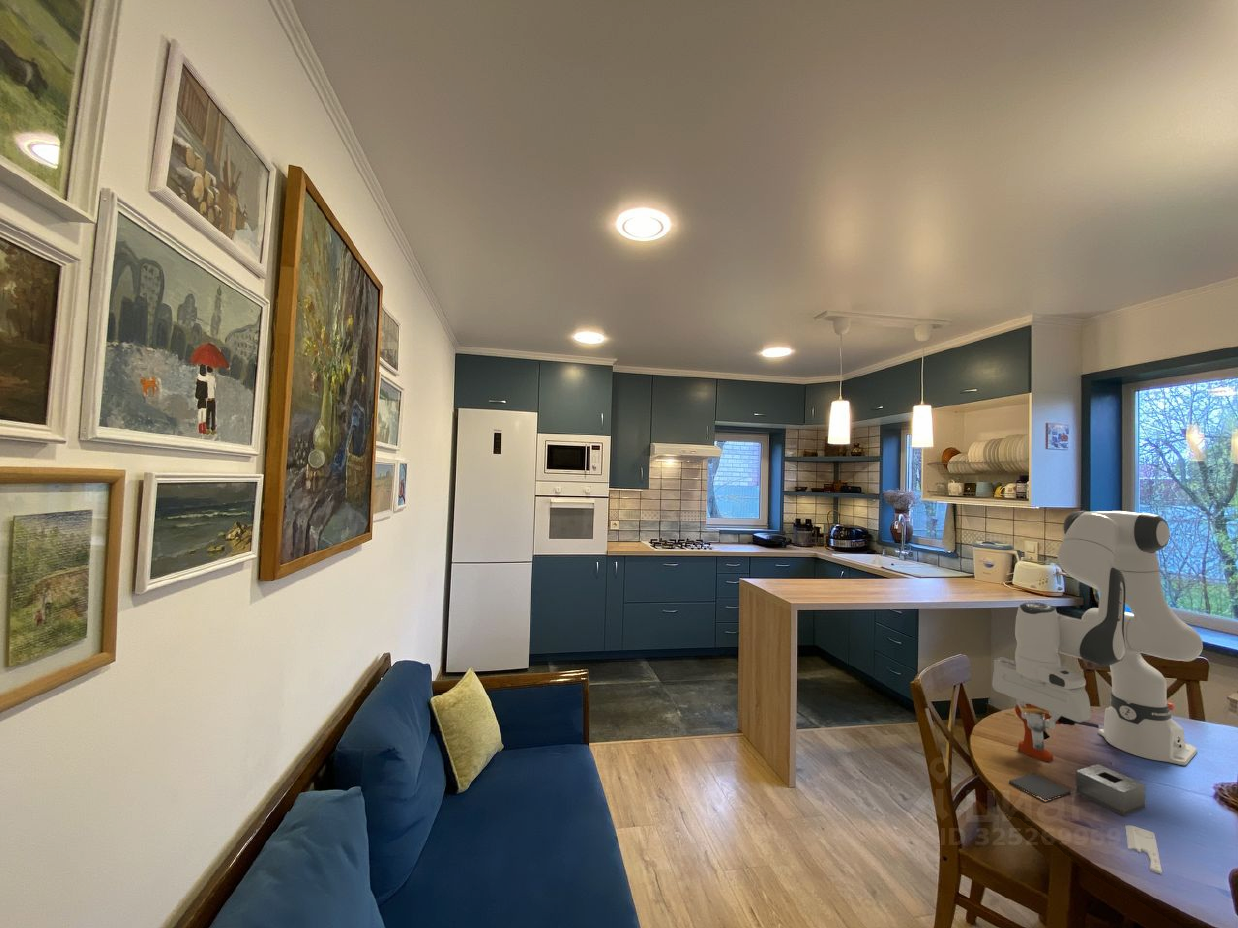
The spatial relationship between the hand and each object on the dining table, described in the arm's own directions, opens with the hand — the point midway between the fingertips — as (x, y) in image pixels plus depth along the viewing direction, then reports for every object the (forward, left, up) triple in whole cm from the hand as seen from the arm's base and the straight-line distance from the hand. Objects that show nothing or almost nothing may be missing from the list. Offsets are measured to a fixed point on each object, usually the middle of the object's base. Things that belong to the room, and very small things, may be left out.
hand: (1038, 723), depth 126 cm
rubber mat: (0, 0, -16) cm, 16 cm away
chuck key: (0, 0, -6) cm, 6 cm away
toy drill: (-18, -6, -16) cm, 25 cm away
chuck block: (-11, +9, -16) cm, 22 cm away
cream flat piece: (+3, +20, -17) cm, 27 cm away
